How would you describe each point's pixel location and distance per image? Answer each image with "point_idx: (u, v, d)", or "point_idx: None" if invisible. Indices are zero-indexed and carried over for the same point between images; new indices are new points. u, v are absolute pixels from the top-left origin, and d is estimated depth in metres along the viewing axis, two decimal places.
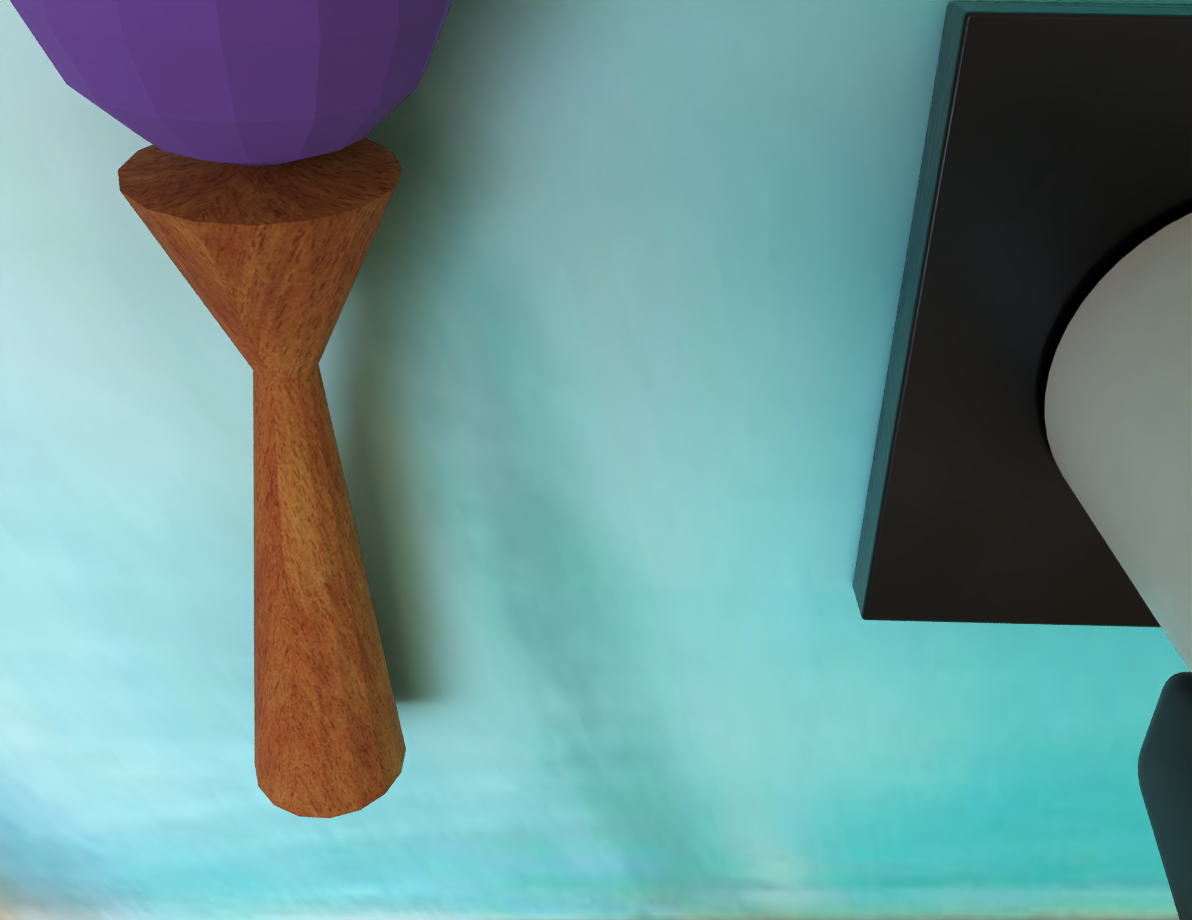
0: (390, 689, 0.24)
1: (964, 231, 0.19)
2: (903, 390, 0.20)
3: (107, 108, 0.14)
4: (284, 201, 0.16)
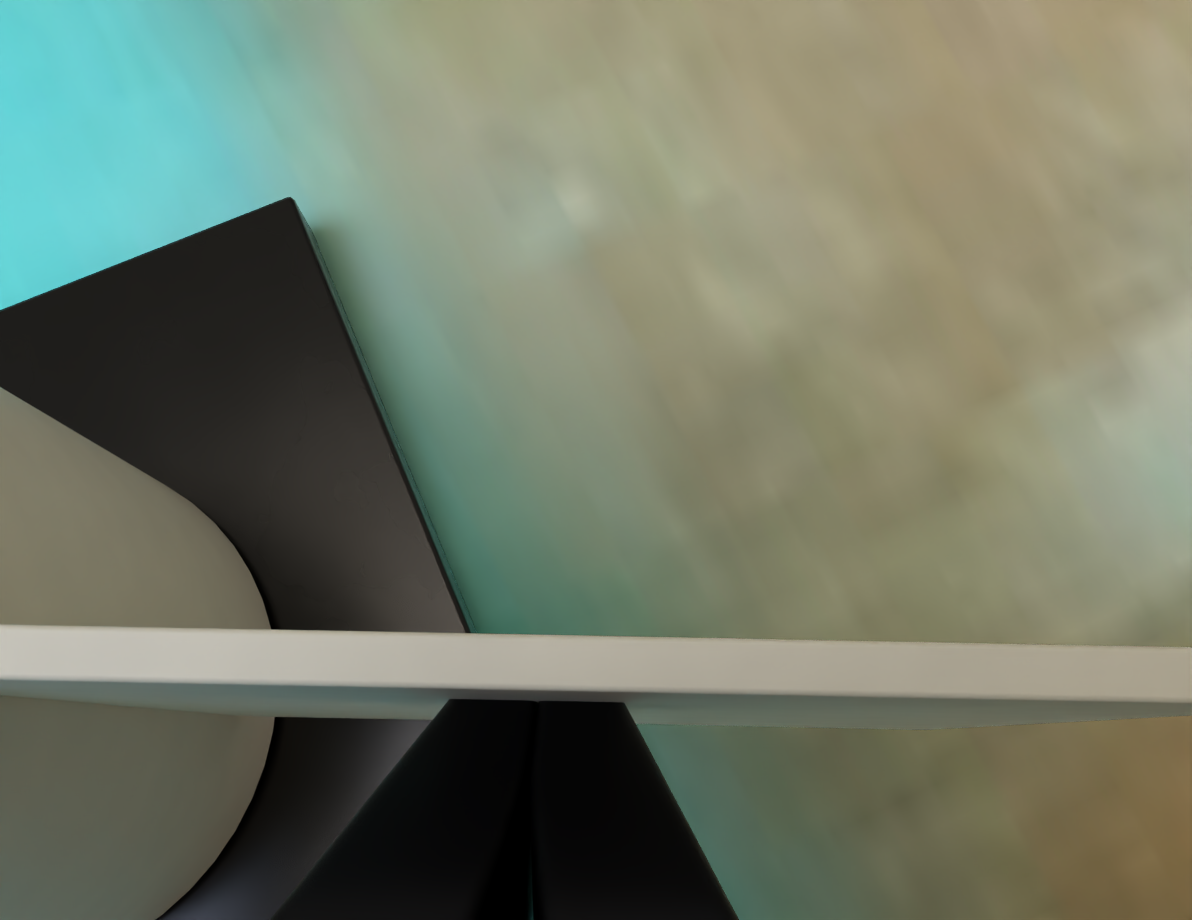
0: None
1: None
2: None
3: None
4: None
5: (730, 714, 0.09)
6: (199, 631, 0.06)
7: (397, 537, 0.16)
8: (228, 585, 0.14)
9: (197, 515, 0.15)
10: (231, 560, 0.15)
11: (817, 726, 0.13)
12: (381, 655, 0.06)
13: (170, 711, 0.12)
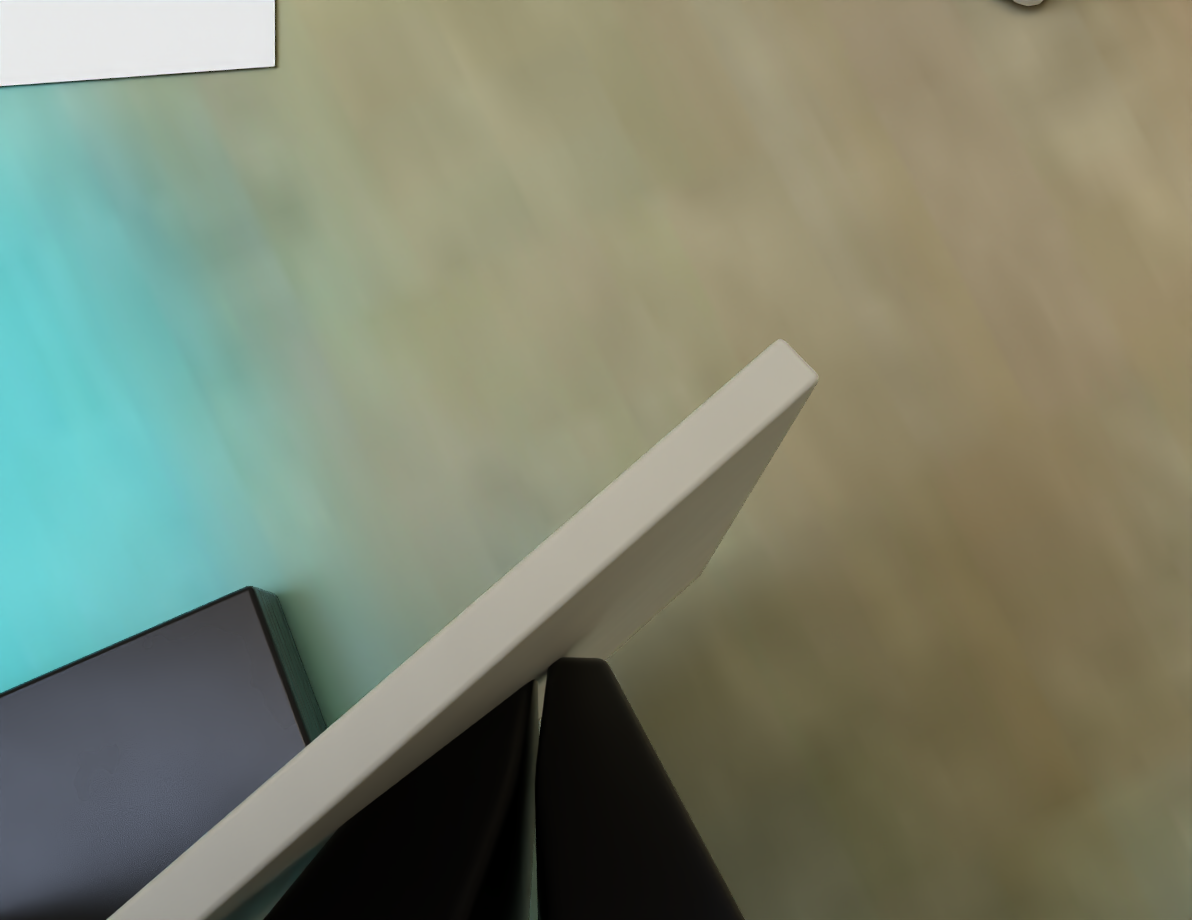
0: None
1: None
2: None
3: None
4: None
5: None
6: None
7: None
8: None
9: None
10: None
11: (610, 652, 0.12)
12: None
13: None
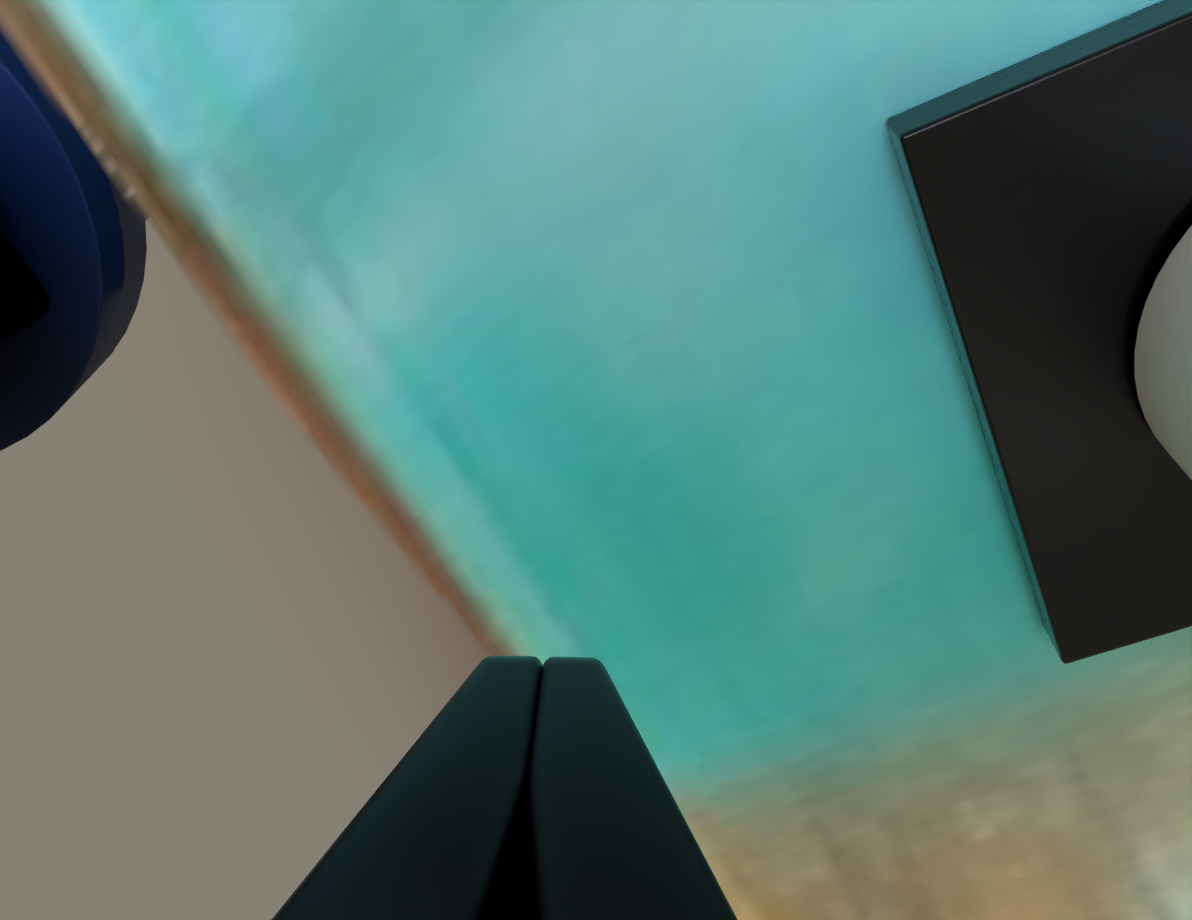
0: None
1: None
2: None
3: None
4: None
5: None
6: None
7: None
8: None
9: None
10: None
11: None
12: None
13: None
